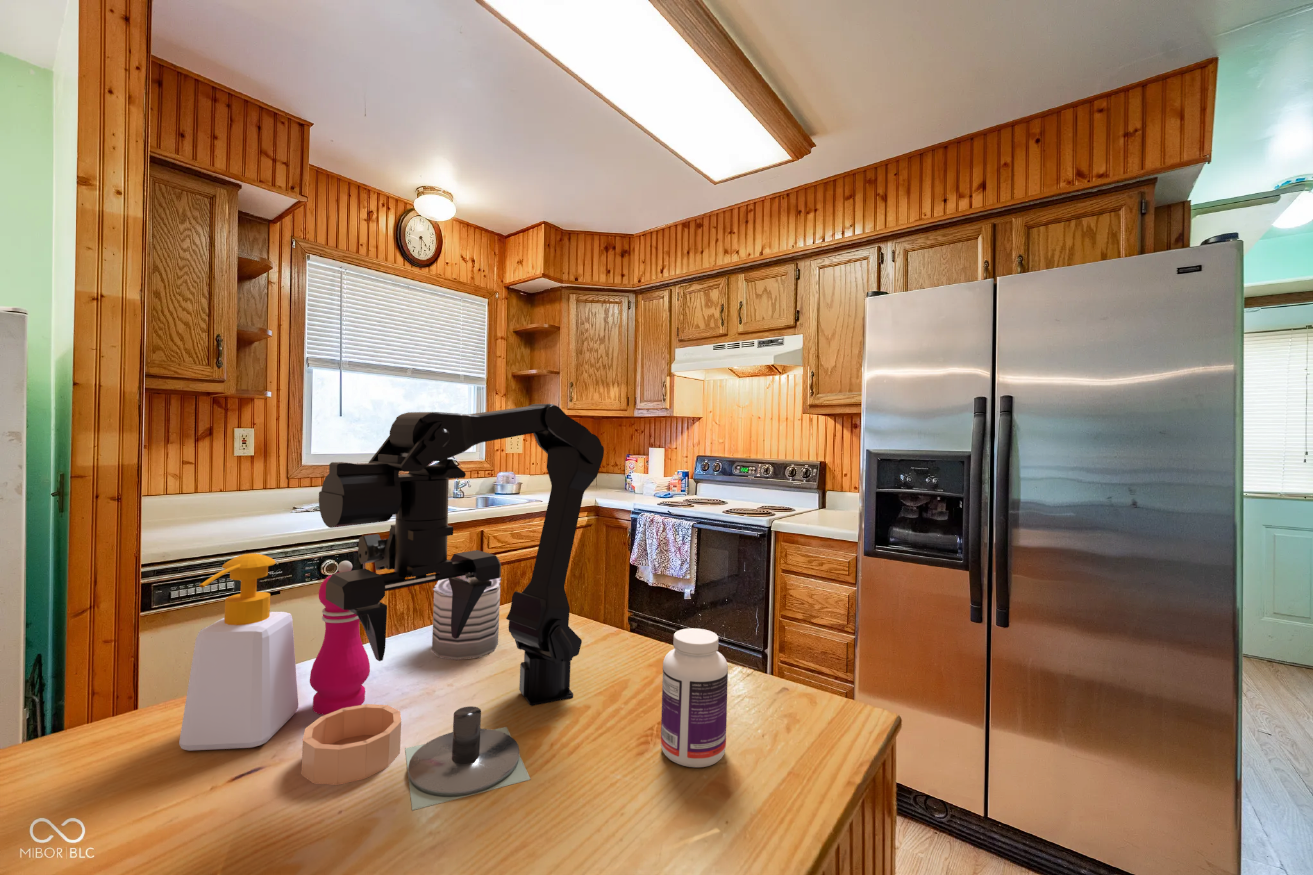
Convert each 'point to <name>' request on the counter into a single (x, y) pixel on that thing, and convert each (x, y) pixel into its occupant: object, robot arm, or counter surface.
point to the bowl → (351, 744)
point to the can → (477, 630)
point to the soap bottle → (241, 668)
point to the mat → (426, 800)
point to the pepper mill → (339, 658)
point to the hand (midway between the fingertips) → (419, 648)
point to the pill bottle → (694, 699)
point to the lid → (464, 758)
